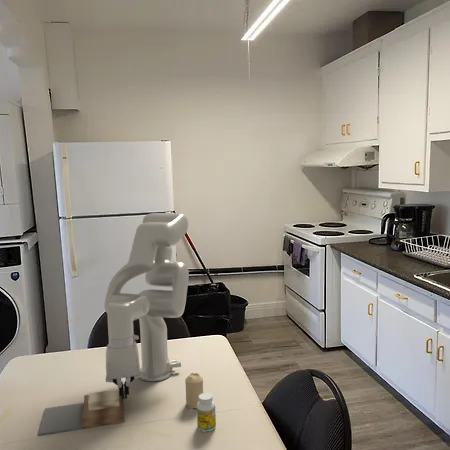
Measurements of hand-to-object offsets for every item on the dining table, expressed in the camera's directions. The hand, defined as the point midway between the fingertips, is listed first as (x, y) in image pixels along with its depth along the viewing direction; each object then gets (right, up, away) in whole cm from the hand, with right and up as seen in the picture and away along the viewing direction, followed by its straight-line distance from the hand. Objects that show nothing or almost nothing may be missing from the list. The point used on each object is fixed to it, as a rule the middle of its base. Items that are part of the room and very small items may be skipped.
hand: (124, 397), depth 136 cm
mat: (-18, -5, -4) cm, 19 cm away
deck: (-6, -5, -1) cm, 8 cm away
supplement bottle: (+26, -5, -9) cm, 28 cm away
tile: (-6, 0, -1) cm, 6 cm away
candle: (+22, -4, +3) cm, 22 cm away
